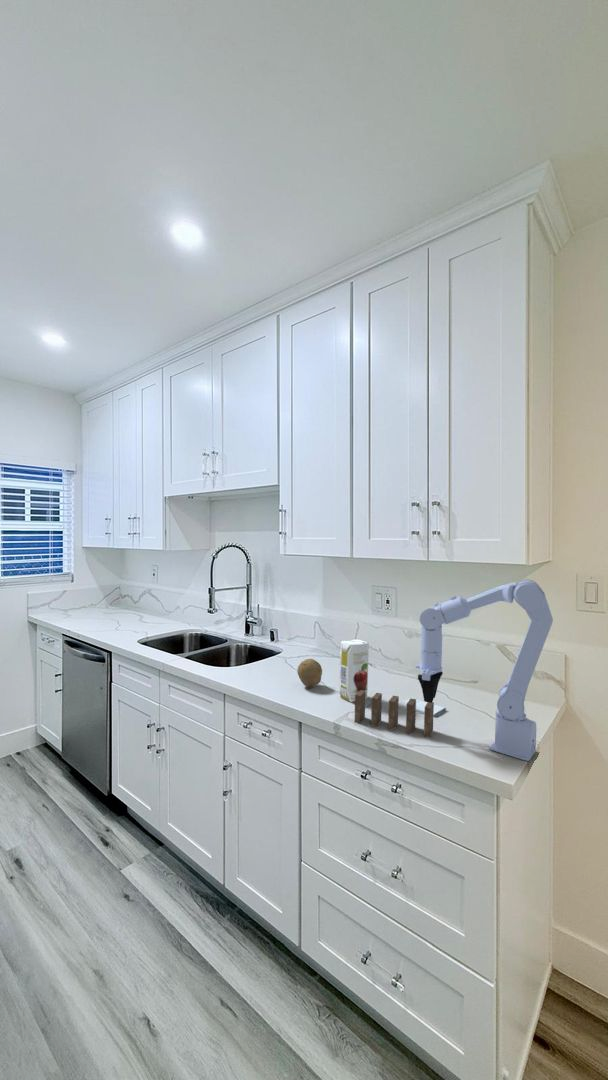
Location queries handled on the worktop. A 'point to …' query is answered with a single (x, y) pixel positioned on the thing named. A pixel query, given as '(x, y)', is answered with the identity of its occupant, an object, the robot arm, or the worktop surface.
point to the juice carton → (353, 668)
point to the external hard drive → (423, 707)
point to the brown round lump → (310, 672)
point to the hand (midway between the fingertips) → (429, 699)
